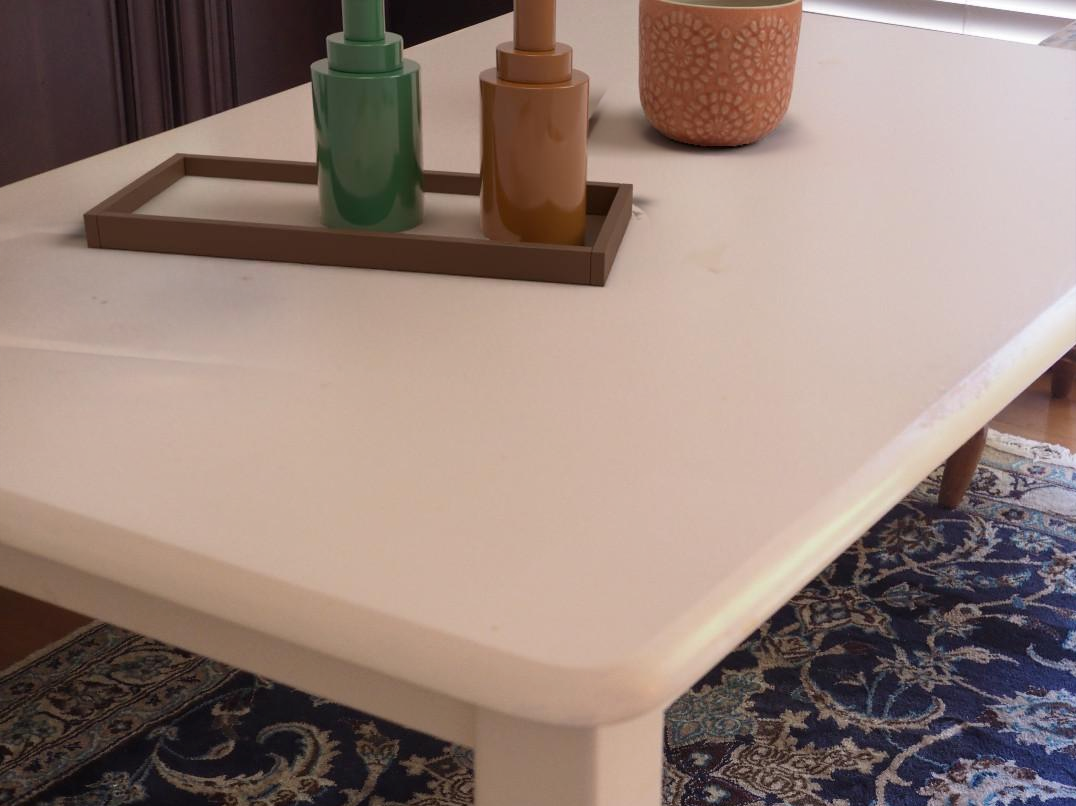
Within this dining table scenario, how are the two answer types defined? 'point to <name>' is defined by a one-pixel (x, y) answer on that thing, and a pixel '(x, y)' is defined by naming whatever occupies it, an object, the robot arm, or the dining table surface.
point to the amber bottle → (533, 135)
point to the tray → (349, 247)
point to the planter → (717, 67)
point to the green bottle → (368, 126)
